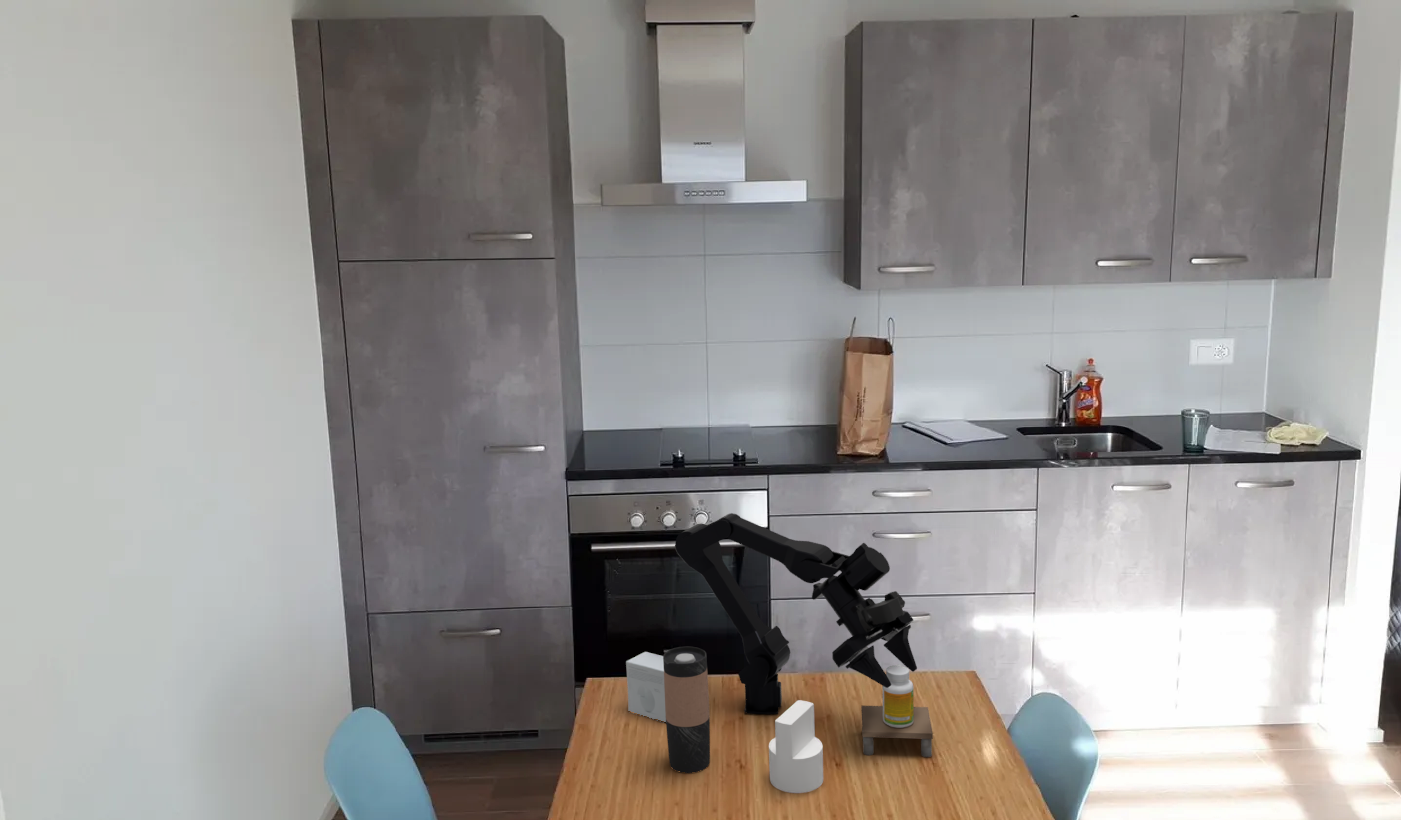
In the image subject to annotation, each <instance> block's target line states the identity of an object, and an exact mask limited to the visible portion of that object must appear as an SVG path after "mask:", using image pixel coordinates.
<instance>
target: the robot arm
mask: <svg viewBox="0 0 1401 820" xmlns="http://www.w3.org/2000/svg"><path fill="white" fill-rule="evenodd" d="M725 539H728V540H730V541H732V542H735V543H737V544H739V545H741V546H744V547H745V548H748V549H750V550H753V551H755V552H757V553H760V554H761V555H763V556H766V557H768V558H771V559H773V560H775V561H778V563H781V564H782V565H784V567H785V569H786V570H787V571H789V573H790V574H792V575H793V576H795V577H797V578H798V579H800V580H801V581H803V582H805V583H807V584H813V585H812V587H813V589H812V593H811V599H812V600H817V599H820V598H824V599H825V600H826V601H827V603H828V605H829V606H830V607H831V608H832V610H833V611H834V613H835V614H836V616H837V617H838V619H837V620H836V622H835V623H836V624H837V625H838V626H839V627H841V626H844V627H845V628H846V629H847V631H848V632H849V634H850V635H851V637H849V638H847V639H846V640H844V641H843V642H842V643H841V644H839V645H838V647H837V648H835V649H834V650H833V651H832V655H831V656H832V661H833V662H834V663H835V665H836V666H837V667H838V669H839V668H841V667H843V666H845V667H844V668H846V669H851V670H853V671H855V672H858V673H859V674H861V675H864V676H865V677H867V678H869V679H871V681H875V682H876V683H878V684H880V686H884V687H886V688H888V687H890V686H891V683H890V681H889V679H888V677H887V675H886V672H885V671H884V670H883V669H884V668H882V666H881V664H880V663H879V661H878V660H877V658H876V657H875V646H874V645H872V644H874V643H876V642H878V641H879V640H881V641H882V640H883V641H885V643H884V644H883V647H885V648H886V650H887V651H889V652H890V653H891V654H892V655H893V656H895V657H894V658H896V659H897V660H898V661H899V662H900V663H902V664H903V665H904V667H906V668H908V669H909V671H911V672H915V671H917V669H918V667H917V663H916V661H915V658H914V654H913V651H912V648H911V646H910V642H909V631H910V630H911V628H912V627H911V623H913V622H914V618H913V617H912V615H910V613H909V612H908V611H907V610H903V608H904V607H905V604H906V601H905V600H904V599H903V597H902V596H901V595H900V594H899V593H898V591H896V590H895V591H891V592H889V593H886V594H885V595H884V600H883V601H880V602H878V603H876V602H875V601H874V600H873V599H872V598H870V597H868V598H867V599H865V598H864V596H863V595H862V594H861V593H860V591H859V590H861V591H868V590H869V589H870V588H872V586H874V585H875V584H876V583H877V582H879V581H880V580H881V579H882V578H884V577H885V576H886V575H887V574H888V573H889V572H890V569H891V568H890V567H891V566H890V564H889V562H888V560H887V558H886V556H885V555H884V554H883V553H882V552H880V551H878V550H877V549H875V548H873V547H871V546H868V545H867V543H866V542H863V543H861V544H859V546H858V547H857V548H855V550H854V551H853V552H852V553H851V554H850V555H849V554H848V555H847V554H843V553H839V552H837V551H833V550H832V549H831V548H830V547H828V546H827V545H824V544H821V543H818V542H813V541H809V540H795V539H792V538H789V537H786V536H784V535H782V534H780V533H778V532H775V531H773V530H771V529H768V528H765V527H763V526H761V525H758V524H756V523H754V522H752V521H749V520H748V519H745V518H743V517H741V516H740V515H738V514H737V513H732V512H731V513H728V514H726V515H724V516H722V517H721V518H719V519H717V520H714V521H713V522H711V523H708V524H705V523H697V524H695V525H693V526H691V527H689V528H686V530H684V531H682V532H679V534H678V535H677V537H676V539H675V544H674V548H675V551H676V554H677V555H678V556H679V557H680V558H681V559H682V560H683V562H684V563H685V564H686V565H687V566H688V567H689V568H691V569H693V570H694V571H696V572H697V573H699V574H700V575H701V576H702V577H703V578H704V580H705V582H706V583H707V585H708V587H709V588H710V590H711V591H712V593H713V594H714V596H715V598H716V599H717V600H718V602H719V603H720V605H721V607H722V608H723V610H724V611H725V613H726V614H727V616H728V617H729V619H730V620H731V622H732V624H733V625H734V627H735V629H736V630H737V632H738V633H739V634H740V637H741V638H742V643H743V644H742V645H743V651H744V655H745V659H746V660H747V662H748V664H747V665H746V666H745V667H744V668H742V669H741V670H740V671H738V678H739V680H740V683H741V684H742V685H744V695H745V696H744V698H745V700H744V702H745V705H744V710H743V711H744V714H746V715H747V714H754V715H755V714H756V715H778V714H779V710H780V709H779V708H781V707H782V700H783V697H782V682H781V681H779V674H778V673H779V672H781V671H782V668H783V667H784V666H785V665H786V664H787V663H788V662H789V660H790V656H791V649H790V646H789V644H790V641H789V640H788V639H786V637H785V636H784V634H783V633H782V631H781V628H779V626H778V625H775V626H774V627H772V628H771V627H769V626H768V625H767V624H765V623H764V622H763V620H762V619H761V618H760V617H759V614H758V613H757V612H756V610H755V609H754V607H753V606H752V604H751V603H750V601H749V599H748V598H747V597H746V594H745V593H744V592H743V590H742V589H741V588H742V587H740V586H739V584H738V582H737V581H736V579H735V578H734V576H733V575H732V573H731V572H730V570H729V568H728V567H727V566H726V564H725V562H724V559H723V555H722V553H723V552H722V547H721V546H722V545H721V544H720V541H722V540H725ZM838 572H840V573H839V574H838V575H837V573H838ZM822 579H825V580H824V581H823V582H820V581H822ZM870 645H871V646H870ZM868 646H869V647H868Z"/></svg>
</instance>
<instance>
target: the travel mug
mask: <svg viewBox="0 0 1401 820" xmlns="http://www.w3.org/2000/svg"><path fill="white" fill-rule="evenodd" d="M662 656H663V662H664V688H665V714H666V723H665V726H666V728H665V729H666V737H667V749H668V751H667V752H668V753H667V754H668V760H669V761H668V762H669V767H670V768H671V767H672V768H673V769H672V768H671V769H672V770H674V771H675V770H676V772H678V771H680V772H679V773H682V772H685V773H684V774H693V773H692V772H695V773H698V771H699V772H701V771H700V770H702V771H703V769H704V770H705V769H707V768H708V767H709V766H710V762H711V738H710V737H711V736H710V735H711V732H710V731H711V729H710V728H711V727H710V723H711V722H710V721H711V720H710V719H711V718H710V700H709V699H710V696H709V678H708V662H707V659H708V658H707V652H706V651H705V650H704V649H702V648H699V647H695V646H678V647H674V648H671V649H668V650H667V651H665V652H664V654H663V655H662ZM706 767H707V768H706Z"/></svg>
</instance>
